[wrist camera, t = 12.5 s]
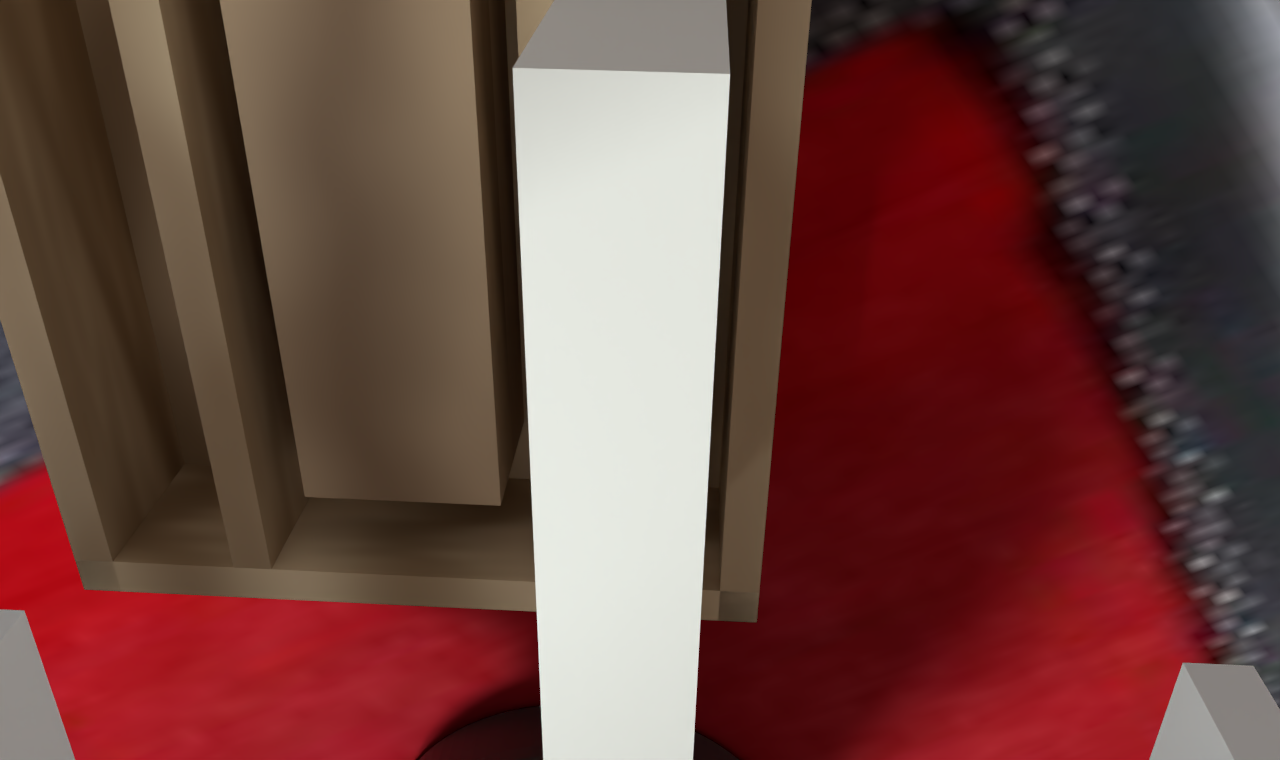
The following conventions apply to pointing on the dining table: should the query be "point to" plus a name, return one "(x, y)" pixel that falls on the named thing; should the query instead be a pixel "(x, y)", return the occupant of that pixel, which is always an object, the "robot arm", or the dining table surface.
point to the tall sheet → (620, 358)
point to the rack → (246, 333)
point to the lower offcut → (507, 212)
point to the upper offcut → (381, 239)
